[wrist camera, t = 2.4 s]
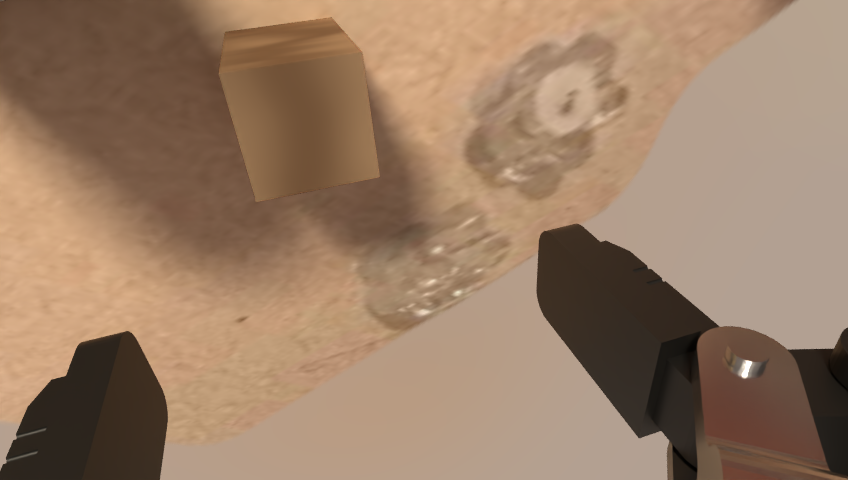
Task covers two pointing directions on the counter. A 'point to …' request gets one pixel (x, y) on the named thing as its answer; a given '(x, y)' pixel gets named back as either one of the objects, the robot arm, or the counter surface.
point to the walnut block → (299, 107)
